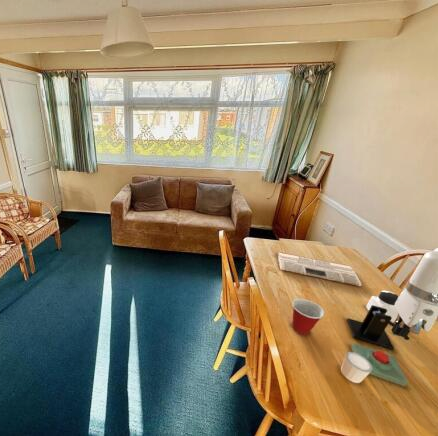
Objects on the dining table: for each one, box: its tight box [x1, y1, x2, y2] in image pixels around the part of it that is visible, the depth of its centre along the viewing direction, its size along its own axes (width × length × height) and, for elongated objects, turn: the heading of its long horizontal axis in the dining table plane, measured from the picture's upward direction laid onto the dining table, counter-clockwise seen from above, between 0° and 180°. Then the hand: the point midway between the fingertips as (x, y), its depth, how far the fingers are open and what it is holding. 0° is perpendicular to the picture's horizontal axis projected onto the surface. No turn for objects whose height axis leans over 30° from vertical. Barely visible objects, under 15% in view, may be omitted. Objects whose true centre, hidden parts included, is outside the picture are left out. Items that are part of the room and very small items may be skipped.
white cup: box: [340, 351, 372, 384], centre depth 77 cm, size 7×7×7 cm
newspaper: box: [277, 252, 362, 287], centre depth 132 cm, size 37×19×3 cm, turn 68°
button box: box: [350, 342, 409, 387], centre depth 81 cm, size 12×10×4 cm
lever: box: [373, 309, 410, 341], centre depth 88 cm, size 12×6×2 cm
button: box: [373, 350, 389, 364], centre depth 80 cm, size 4×4×2 cm
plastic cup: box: [291, 298, 325, 335], centre depth 93 cm, size 11×11×12 cm
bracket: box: [346, 305, 395, 351], centre depth 91 cm, size 12×10×13 cm
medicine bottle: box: [365, 290, 400, 324], centre depth 100 cm, size 7×7×12 cm
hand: (398, 334), depth 75 cm, fingers closed
